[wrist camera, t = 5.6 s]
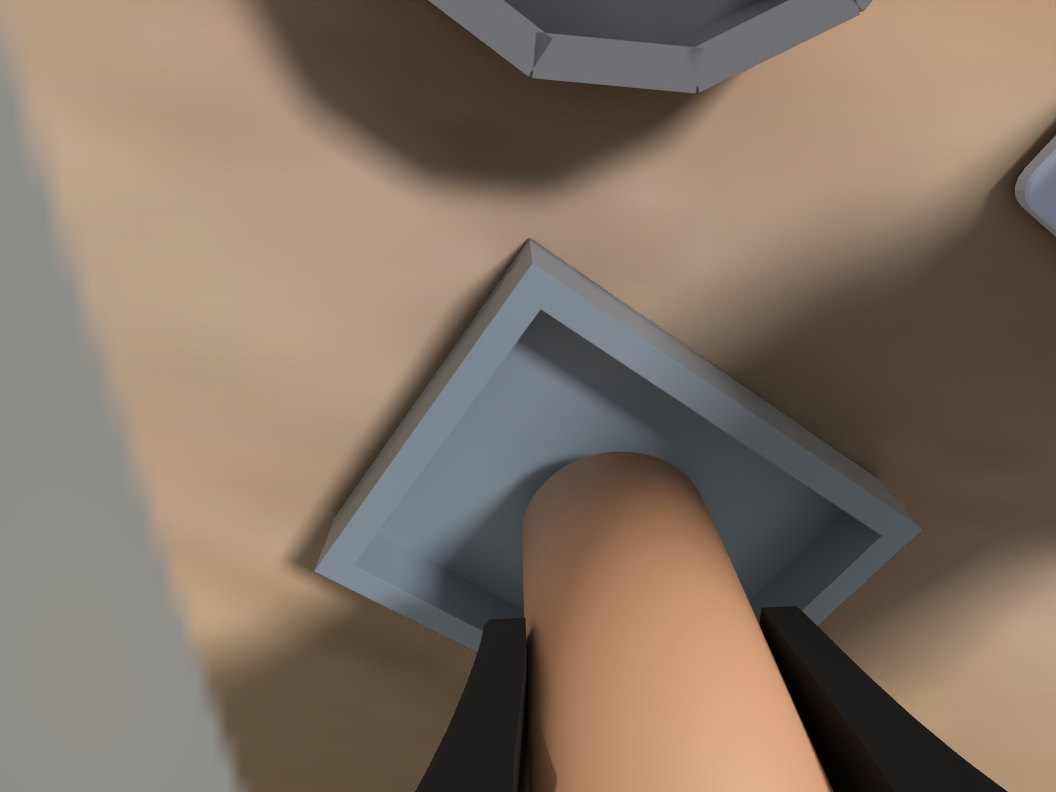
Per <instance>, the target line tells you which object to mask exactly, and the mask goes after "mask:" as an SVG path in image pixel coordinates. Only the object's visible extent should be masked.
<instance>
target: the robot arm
mask: <svg viewBox="0 0 1056 792" xmlns="http://www.w3.org/2000/svg"><path fill="white" fill-rule="evenodd" d="M1015 196H1016V199H1017V201H1018V203H1019V204H1020V206H1022V207H1023V208H1024V209H1025V210H1026V211H1027V212H1028V213H1029V214H1030V215H1032V216H1033V217H1034V218H1035V219H1036V220H1037V221H1038V222H1039V223H1040V224H1042V225H1043V226H1044V227H1045V228H1046V229H1047V230H1048V231H1049V232H1050V233H1052V234H1053V235H1054V236H1055V237H1056V135H1055V137H1054V138H1053V139H1052V140H1051V141H1050V142H1049V143H1048V144H1047V145H1046V146H1045V147H1044V148H1043V149H1042V150H1041V151H1040V153H1039V154H1038V155H1037V156H1036V157H1035V158H1034V159H1033V160H1032V161H1031V162H1030V163H1029V164H1028V165H1027V166H1026V168H1025V169H1024V170H1023V171H1022V173H1021V174H1020V176H1019V177H1018V179H1017V183H1016V186H1015ZM759 625H760V628H761V630H762V632H763V634H764V637H765V639H766V641H767V643H768V646H769V648H770V650H771V652H772V655H773V657H774V659H775V661H776V664H777V666H778V668H779V670H780V673H781V675H782V677H783V679H784V682H785V684H786V686H787V688H788V691H789V693H790V695H791V697H792V699H793V702H794V704H795V706H796V708H797V711H798V713H799V715H800V717H801V720H802V722H803V724H804V726H805V729H806V731H807V733H808V735H809V738H810V740H811V742H812V744H813V747H814V749H815V751H816V753H817V756H818V758H819V760H820V762H821V765H822V767H823V769H824V771H825V774H826V776H827V778H828V780H829V782H830V785H831V787H832V789H833V791H834V792H1007V791H1006V790H1005V789H1003V788H1002V787H1001V786H999V785H998V784H997V783H995V782H994V781H993V780H991V779H990V778H988V777H987V776H986V775H984V774H983V773H982V772H980V771H979V770H978V769H976V768H975V767H974V766H972V765H971V764H970V763H969V762H967V761H966V760H965V759H963V758H962V757H961V756H960V755H958V754H957V753H956V752H955V751H953V750H952V749H951V748H950V747H948V746H947V745H946V744H945V743H944V742H943V741H941V740H940V739H939V738H938V737H937V736H935V735H934V734H933V733H932V732H931V731H929V730H928V729H927V728H926V727H925V726H923V725H922V724H921V723H920V722H919V721H917V720H916V719H915V718H914V717H913V716H912V715H911V714H909V713H908V712H907V711H906V710H905V709H904V708H903V707H902V706H901V705H899V704H898V703H897V702H896V701H895V700H894V699H893V698H892V697H891V696H890V695H889V694H887V693H886V692H885V691H884V690H883V689H882V688H881V687H880V686H879V685H878V684H877V683H876V682H874V681H873V680H872V679H871V678H870V677H869V676H868V675H867V674H866V673H865V672H864V671H863V670H862V669H861V668H860V667H859V666H858V665H857V664H856V663H855V662H853V661H852V660H851V659H850V658H849V657H848V656H847V655H846V654H845V653H844V652H843V651H842V650H841V649H840V648H839V647H838V646H837V645H836V644H835V643H834V642H833V641H832V640H831V639H830V638H829V637H828V636H827V635H826V634H825V633H824V632H823V631H822V630H821V629H820V628H819V627H818V626H817V625H816V624H815V623H814V622H813V621H812V620H811V619H810V618H809V617H808V616H807V615H806V614H805V613H804V612H803V611H802V610H801V609H800V608H798V607H797V606H786V607H763V608H761V615H760V623H759ZM527 705H528V670H527V640H526V618H509V619H490V620H489V621H488V622H487V623H485V624H484V627H483V633H482V637H481V641H480V645H479V649H478V652H477V656H476V659H475V662H474V665H473V668H472V670H471V673H470V676H469V679H468V682H467V684H466V687H465V689H464V692H463V694H462V696H461V699H460V701H459V704H458V706H457V708H456V711H455V713H454V716H453V718H452V720H451V722H450V725H449V727H448V729H447V731H446V733H445V735H444V737H443V739H442V741H441V743H440V745H439V747H438V749H437V751H436V753H435V755H434V757H433V759H432V761H431V763H430V765H429V767H428V769H427V771H426V773H425V775H424V777H423V778H422V780H421V782H420V784H419V786H418V788H417V789H416V791H415V792H530V787H529V754H528V709H527Z"/></svg>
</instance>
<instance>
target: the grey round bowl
mask: <svg viewBox="0 0 1056 792" xmlns="http://www.w3.org/2000/svg"><path fill="white" fill-rule="evenodd" d="M428 1H430V2H431V3H432V4H434V5H435V6H436V7H438V8H439V9H440V10H441V11H443V12H444V13H445V14H447V15H448V16H449V17H451V18H452V19H453V20H455V21H456V22H457V23H459V24H460V25H461V26H462V27H464V28H465V29H466V30H468V31H469V32H470V33H472V34H473V35H474V36H476V37H477V38H478V39H480V40H481V41H482V42H483V43H485V44H486V45H487V46H489V47H490V48H491V49H493V50H494V51H495V52H497V53H498V54H499V55H501V56H502V57H503V58H504V59H506V60H507V61H508V62H510V63H511V64H512V65H514V66H515V67H516V68H518V69H519V70H520V71H522V72H523V73H524V74H526V75H527V76H530V77H531V78H536V79H546V80H557V81H568V82H578V83H589V84H600V85H611V86H621V87H632V88H643V89H653V90H664V91H675V92H686V93H696V92H699V93H700V92H702V91H704V90H706V89H708V88H710V87H712V86H714V85H716V84H718V83H721V82H723V81H725V80H727V79H729V78H731V77H733V76H735V75H737V74H739V73H741V72H743V71H745V70H747V69H749V68H751V67H753V66H755V65H757V64H759V63H762V62H764V61H766V60H768V59H770V58H772V57H774V56H776V55H778V54H780V53H782V52H784V51H786V50H788V49H790V48H792V47H794V46H796V45H798V44H800V43H803V42H805V41H807V40H809V39H811V38H813V37H815V36H817V35H819V34H821V33H823V32H825V31H827V30H829V29H831V28H833V27H835V26H837V25H839V24H841V23H844V22H846V21H848V20H850V19H852V18H854V17H856V16H858V15H860V12H862V11H864V10H865V9H866V8H867V7H868V5H869V4H870V3H871V2H872V0H428Z"/></svg>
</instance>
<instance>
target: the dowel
mask: <svg viewBox="0 0 1056 792" xmlns="http://www.w3.org/2000/svg"><path fill="white" fill-rule="evenodd" d="M522 558H523V591H524V618H526V640H527V670H528V705H527V709H528V754H529V787H530V792H834V791H833V789H832V787H831V785H830V782H829V780H828V778H827V776H826V774H825V771H824V769H823V767H822V765H821V762H820V760H819V758H818V756H817V753H816V751H815V749H814V747H813V744H812V742H811V740H810V738H809V735H808V733H807V731H806V729H805V726H804V724H803V722H802V720H801V717H800V715H799V713H798V711H797V708H796V706H795V704H794V702H793V699H792V697H791V695H790V693H789V691H788V688H787V686H786V684H785V682H784V679H783V677H782V675H781V673H780V670H779V668H778V666H777V664H776V661H775V659H774V657H773V655H772V652H771V650H770V648H769V646H768V643H767V641H766V639H765V637H764V634H763V632H762V630H761V628H760V625H759V623H758V621H757V619H756V616H755V614H754V612H753V610H752V608H751V605H750V603H749V601H748V599H747V596H746V594H745V592H744V590H743V587H742V585H741V583H740V581H739V578H738V576H737V574H736V572H735V569H734V567H733V565H732V563H731V560H730V558H729V556H728V554H727V551H726V549H725V547H724V545H723V542H722V540H721V538H720V536H719V533H718V531H717V529H716V527H715V525H714V522H713V520H712V518H711V516H710V513H709V511H708V509H707V507H706V504H705V502H704V500H703V498H702V496H701V494H700V492H699V490H698V488H697V487H696V486H695V485H694V483H693V482H692V481H691V479H689V478H688V477H687V476H686V475H685V474H684V473H683V472H682V471H681V470H679V469H678V468H676V467H675V466H674V465H672V464H670V463H668V462H666V461H664V460H662V459H659V458H656V457H654V456H650V455H646V454H642V453H635V452H607V453H600V454H596V455H592V456H588V457H585V458H582V459H580V460H577V461H575V462H573V463H571V464H569V465H567V466H565V467H564V468H562V469H560V470H559V471H557V472H556V473H555V474H553V475H552V476H551V477H550V478H549V479H548V480H546V481H545V482H544V484H543V485H542V486H541V487H540V488H539V489H538V490H537V492H536V493H535V495H534V496H533V498H532V499H531V501H530V503H529V505H528V507H527V510H526V513H525V516H524V519H523V526H522Z"/></svg>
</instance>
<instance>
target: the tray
mask: <svg viewBox="0 0 1056 792" xmlns="http://www.w3.org/2000/svg"><path fill="white" fill-rule="evenodd" d="M607 452H635V453H642V454H646V455H650V456H654V457H656V458H659V459H662V460H664V461H666V462H668V463H670V464H672V465H674V466H675V467H676V468H678V469H679V470H681V471H682V472H683V473H684V474H685V475H686V476H687V477H688V478H689V479H691V481H692V482H693V483H694V485H695V486H696V487H697V488H698V490H699V492H700V494H701V496H702V498H703V500H704V502H705V504H706V507H707V509H708V511H709V513H710V516H711V518H712V520H713V522H714V525H715V527H716V529H717V531H718V533H719V536H720V538H721V540H722V542H723V545H724V547H725V549H726V551H727V554H728V556H729V558H730V560H731V563H732V565H733V567H734V569H735V572H736V574H737V576H738V578H739V581H740V583H741V585H742V587H743V590H744V592H745V594H746V596H747V599H748V601H749V603H750V605H751V608H752V610H753V612H754V614H755V616H756V619H757V621H758V623H760V615H761V608H763V607H786V606H797V607H798V608H800V609H801V610H802V611H803V612H804V613H805V614H806V615H807V616H808V617H809V618H810V619H811V620H812V621H813V622H814V623H815V624H816V625H817V626H818V625H819V624H820V623H821V622H822V621H823V620H825V619H826V618H827V617H828V616H829V615H830V614H831V613H832V612H833V611H834V610H835V609H836V608H838V607H839V606H840V605H841V604H842V603H843V602H844V601H845V600H846V599H847V598H848V597H850V596H851V595H852V594H853V593H854V592H855V591H856V590H857V589H858V588H859V587H860V586H862V585H863V584H864V583H865V582H866V581H867V580H868V579H869V578H870V577H871V576H872V575H874V574H875V573H876V572H877V571H878V570H879V569H880V568H881V567H882V566H883V565H884V564H886V563H887V562H888V561H889V560H890V559H891V558H892V557H893V556H894V555H895V554H896V553H898V552H899V551H900V550H901V549H902V548H903V547H904V546H905V545H906V544H907V543H908V542H910V541H911V540H912V539H913V538H914V537H915V536H916V535H917V534H918V533H919V532H920V531H922V530H923V529H922V528H921V527H920V526H919V524H918V523H917V522H916V521H915V520H914V519H913V518H912V517H911V515H910V514H909V513H908V512H907V511H906V510H905V509H904V507H903V506H902V505H901V504H900V503H899V502H898V501H897V499H896V498H895V497H894V496H893V495H892V494H891V493H890V492H889V490H888V489H887V488H886V487H885V486H884V485H883V484H882V482H881V481H880V480H879V479H878V478H876V477H875V476H873V475H872V474H870V473H869V472H867V471H866V470H865V469H863V468H862V467H860V466H859V465H857V464H856V463H854V462H853V461H852V460H850V459H849V458H847V457H846V456H844V455H843V454H841V453H840V452H839V451H837V450H836V449H834V448H833V447H831V446H830V445H828V444H827V443H826V442H824V441H823V440H821V439H820V438H818V437H817V436H815V435H814V434H813V433H811V432H810V431H808V430H807V429H805V428H804V427H802V426H801V425H800V424H798V423H797V422H795V421H794V420H792V419H791V418H789V417H788V416H787V415H785V414H784V413H782V412H781V411H779V410H778V409H776V408H775V407H774V406H772V405H771V404H769V403H768V402H766V401H765V400H763V399H762V398H761V397H759V396H758V395H756V394H755V393H753V392H752V391H750V390H749V389H747V388H746V387H745V386H743V385H742V384H740V383H739V382H737V381H736V380H734V379H733V378H732V377H730V376H729V375H727V374H726V373H724V372H723V371H721V370H720V369H719V368H717V367H716V366H714V365H713V364H711V363H710V362H708V361H707V360H706V359H704V358H703V357H701V356H700V355H698V354H697V353H695V352H694V351H693V350H691V349H690V348H688V347H687V346H685V345H684V344H682V343H681V342H680V341H678V340H677V339H675V338H674V337H672V336H671V335H669V334H668V333H667V332H665V331H664V330H662V329H661V328H659V327H658V326H656V325H655V324H654V323H652V322H651V321H649V320H648V319H646V318H645V317H643V316H642V315H641V314H639V313H638V312H636V311H635V310H633V309H632V308H630V307H629V306H628V305H626V304H625V303H623V302H622V301H620V300H619V299H617V298H616V297H615V296H613V295H612V294H610V293H609V292H607V291H606V290H604V289H603V288H602V287H600V286H599V285H597V284H596V283H594V282H593V281H591V280H590V279H589V278H587V277H586V276H584V275H583V274H581V273H580V272H578V271H577V270H576V269H574V268H573V267H571V266H570V265H568V264H567V263H565V262H564V261H563V260H561V259H560V258H558V257H557V256H555V255H554V254H552V253H551V252H550V251H548V250H547V249H545V248H544V247H542V246H541V245H539V244H538V243H537V242H535V241H534V240H532V239H531V238H529V239H528V240H527V242H526V243H525V245H524V246H523V248H522V249H521V250H520V252H519V253H518V255H517V256H516V258H515V259H514V260H513V262H512V263H511V265H510V266H509V268H508V269H507V270H506V272H505V273H504V275H503V276H502V278H501V279H500V281H499V282H498V283H497V285H496V286H495V288H494V289H493V291H492V292H491V293H490V295H489V296H488V298H487V299H486V301H485V302H484V303H483V305H482V306H481V308H480V309H479V311H478V312H477V314H476V315H475V316H474V318H473V319H472V321H471V322H470V324H469V325H468V326H467V328H466V329H465V331H464V332H463V334H462V335H461V336H460V338H459V339H458V341H457V342H456V344H455V345H454V347H453V348H452V349H451V351H450V352H449V354H448V355H447V357H446V358H445V359H444V361H443V362H442V364H441V365H440V367H439V368H438V369H437V371H436V372H435V374H434V375H433V377H432V378H431V380H430V381H429V382H428V384H427V385H426V387H425V388H424V390H423V391H422V392H421V394H420V395H419V397H418V398H417V400H416V401H415V402H414V404H413V405H412V407H411V408H410V410H409V411H408V413H407V414H406V415H405V417H404V418H403V420H402V421H401V423H400V424H399V425H398V427H397V428H396V430H395V431H394V433H393V434H392V435H391V437H390V438H389V440H388V441H387V443H386V444H385V446H384V447H383V448H382V450H381V451H380V453H379V454H378V456H377V457H376V458H375V460H374V461H373V463H372V464H371V466H370V467H369V469H368V470H367V471H366V473H365V474H364V476H363V477H362V479H361V480H360V481H359V483H358V484H357V486H356V487H355V489H354V490H353V491H352V493H351V494H350V496H349V497H348V499H347V500H346V502H345V503H344V504H343V506H342V507H341V509H340V510H339V512H338V513H337V514H336V516H335V517H334V520H333V523H332V525H331V528H330V531H329V533H328V536H327V539H326V541H325V544H324V547H323V549H322V552H321V555H320V557H319V560H318V563H317V565H316V568H315V572H317V573H319V574H321V575H323V576H325V577H327V578H329V579H331V580H333V581H335V582H337V583H339V584H341V585H343V586H345V587H347V588H349V589H351V590H353V591H355V592H357V593H359V594H360V595H362V596H364V597H366V598H368V599H370V600H372V601H374V602H376V603H378V604H380V605H382V606H384V607H386V608H388V609H390V610H392V611H394V612H396V613H398V614H400V615H402V616H404V617H406V618H408V619H410V620H412V621H414V622H416V623H418V624H420V625H422V626H424V627H426V628H428V629H430V630H432V631H434V632H436V633H438V634H440V635H442V636H444V637H446V638H448V639H450V640H452V641H454V642H456V643H458V644H460V645H462V646H464V647H466V648H468V649H470V650H472V651H474V652H476V653H477V652H478V649H479V645H480V641H481V637H482V633H483V627H484V624H485V623H487V622H488V621H489V620H490V619H509V618H524V591H523V558H522V526H523V519H524V516H525V513H526V510H527V507H528V505H529V503H530V501H531V499H532V498H533V496H534V495H535V493H536V492H537V490H538V489H539V488H540V487H541V486H542V485H543V484H544V482H545V481H546V480H548V479H549V478H550V477H551V476H552V475H553V474H555V473H556V472H557V471H559V470H560V469H562V468H564V467H565V466H567V465H569V464H571V463H573V462H575V461H577V460H580V459H582V458H585V457H588V456H592V455H596V454H600V453H607Z"/></svg>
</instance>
